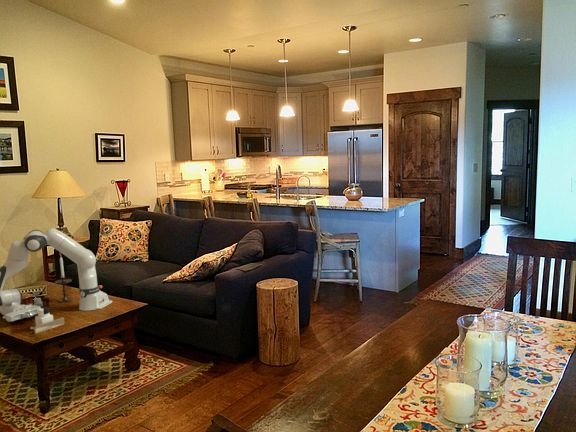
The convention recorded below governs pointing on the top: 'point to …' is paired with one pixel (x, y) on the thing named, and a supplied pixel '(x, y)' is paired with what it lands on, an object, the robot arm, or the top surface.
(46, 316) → the medicine bottle
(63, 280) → the candlestick
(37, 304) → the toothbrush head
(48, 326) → the beige flat block
